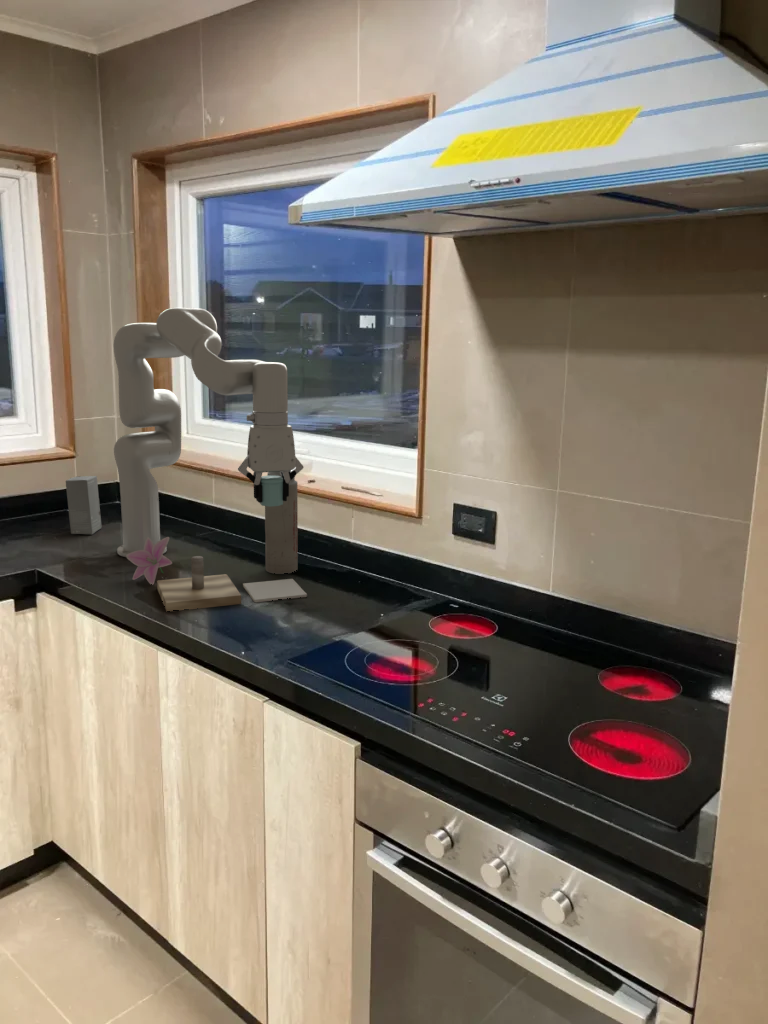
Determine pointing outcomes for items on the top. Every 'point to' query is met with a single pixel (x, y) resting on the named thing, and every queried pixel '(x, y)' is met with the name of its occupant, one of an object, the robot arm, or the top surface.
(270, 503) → the cap
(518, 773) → the top surface
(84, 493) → the skincare box
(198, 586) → the post block
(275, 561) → the thermos bottle
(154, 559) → the lily
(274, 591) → the grey mat
